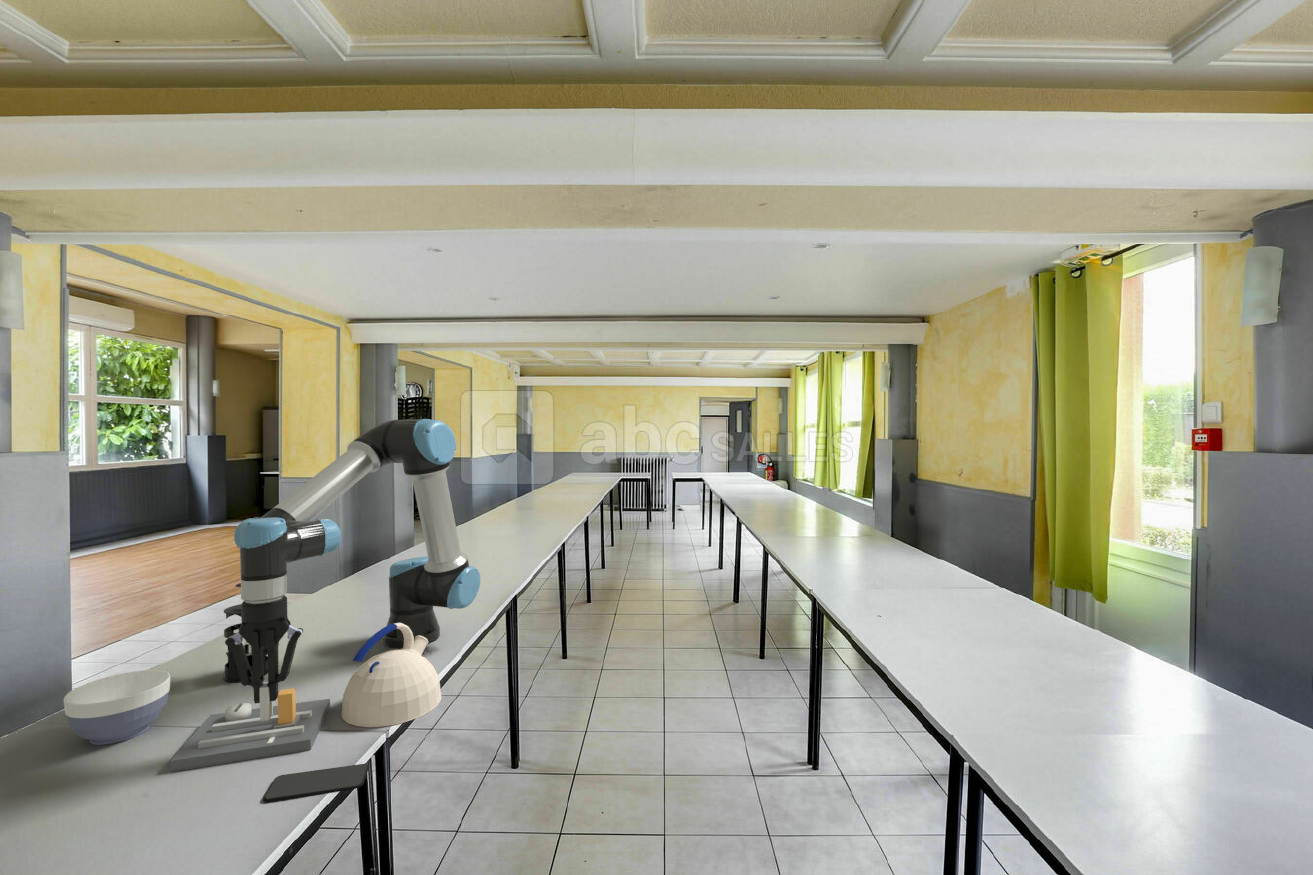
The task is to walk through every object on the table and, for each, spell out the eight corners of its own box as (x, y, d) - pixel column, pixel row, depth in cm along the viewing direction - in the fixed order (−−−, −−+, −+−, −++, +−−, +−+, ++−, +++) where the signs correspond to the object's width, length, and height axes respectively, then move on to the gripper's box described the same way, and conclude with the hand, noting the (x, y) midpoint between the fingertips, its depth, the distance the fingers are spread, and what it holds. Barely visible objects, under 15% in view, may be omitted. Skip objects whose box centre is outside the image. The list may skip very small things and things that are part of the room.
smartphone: (362, 785, 101) (260, 800, 96) (362, 791, 101) (260, 806, 96) (370, 762, 108) (275, 774, 103) (370, 767, 108) (275, 780, 103)
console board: (330, 707, 130) (329, 688, 130) (310, 749, 113) (310, 727, 112) (210, 724, 123) (210, 704, 123) (170, 771, 106) (170, 748, 105)
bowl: (80, 763, 108) (78, 711, 108) (53, 739, 117) (52, 691, 117) (184, 726, 122) (183, 680, 122) (154, 707, 130) (153, 664, 130)
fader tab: (300, 719, 120) (299, 685, 120) (294, 729, 116) (294, 694, 116) (279, 722, 119) (279, 688, 119) (273, 733, 115) (272, 697, 115)
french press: (246, 684, 141) (245, 589, 141) (211, 683, 143) (209, 588, 142) (283, 665, 153) (281, 576, 153) (250, 663, 154) (248, 575, 154)
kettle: (461, 691, 137) (460, 614, 137) (395, 735, 118) (393, 645, 117) (391, 680, 144) (390, 606, 144) (318, 720, 124) (316, 634, 124)
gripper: (306, 589, 121) (308, 704, 122) (232, 596, 117) (234, 714, 118) (297, 600, 114) (299, 721, 115) (217, 606, 110) (220, 732, 111)
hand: (266, 717), depth 116 cm, fingers closed
